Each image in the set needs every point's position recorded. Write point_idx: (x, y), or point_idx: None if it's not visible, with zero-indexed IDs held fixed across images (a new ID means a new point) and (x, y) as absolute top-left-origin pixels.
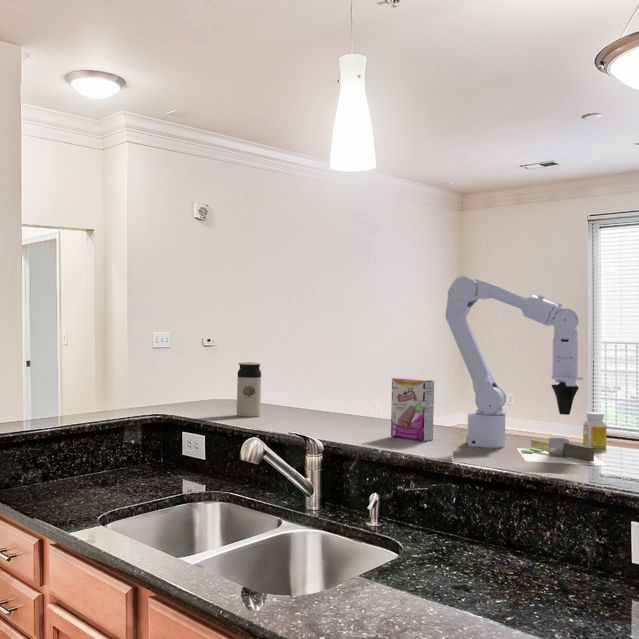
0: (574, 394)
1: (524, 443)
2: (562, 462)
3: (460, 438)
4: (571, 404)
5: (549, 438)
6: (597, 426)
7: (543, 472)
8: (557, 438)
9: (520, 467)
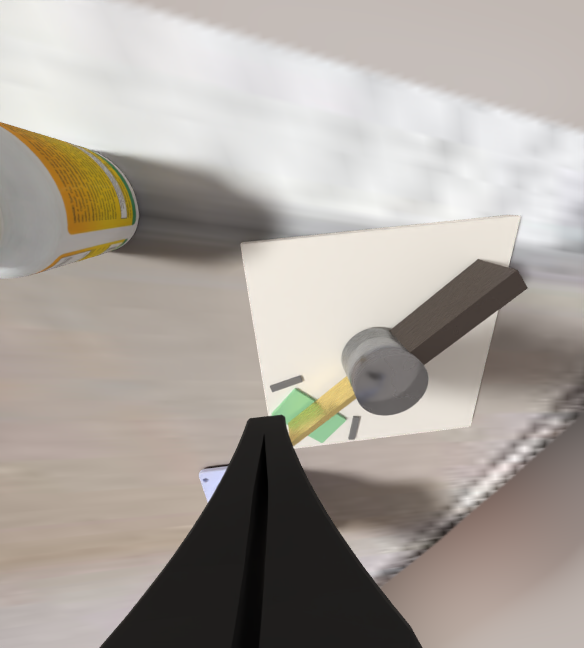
0: (357, 558)
1: (82, 428)
2: (478, 348)
3: (113, 550)
4: (300, 466)
5: (387, 413)
6: (60, 195)
7: (537, 384)
8: (379, 390)
9: (481, 426)
